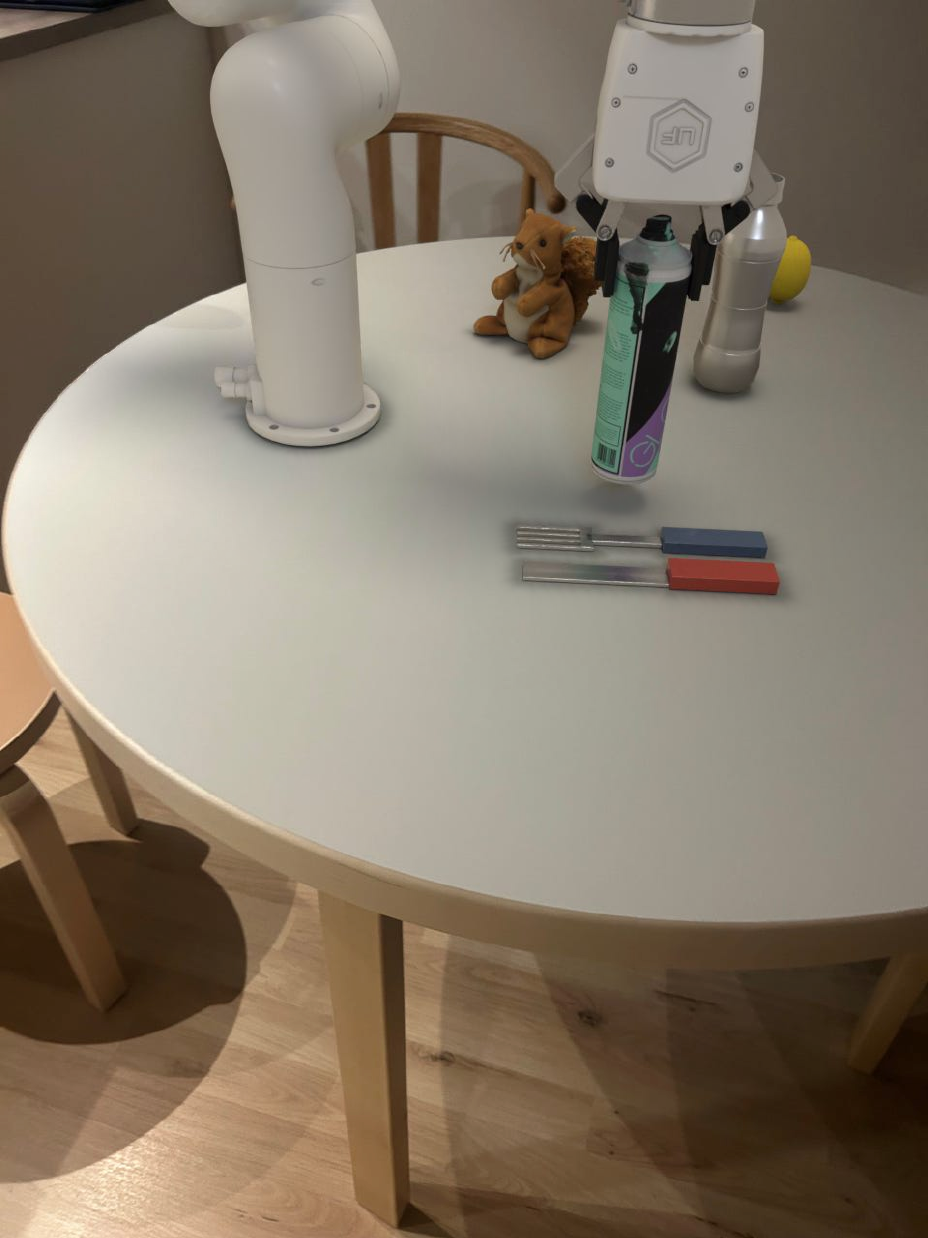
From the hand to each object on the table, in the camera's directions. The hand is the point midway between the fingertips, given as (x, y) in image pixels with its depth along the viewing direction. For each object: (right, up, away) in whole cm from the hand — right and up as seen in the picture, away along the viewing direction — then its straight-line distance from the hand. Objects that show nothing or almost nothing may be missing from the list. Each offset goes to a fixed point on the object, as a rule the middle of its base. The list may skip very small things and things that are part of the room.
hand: (649, 289), depth 70 cm
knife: (+1, -21, +3) cm, 21 cm away
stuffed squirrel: (-5, +8, +37) cm, 38 cm away
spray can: (0, -11, +10) cm, 15 cm away
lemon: (+24, +13, +45) cm, 52 cm away
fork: (+1, -18, +7) cm, 19 cm away
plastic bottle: (+13, 0, +28) cm, 31 cm away
